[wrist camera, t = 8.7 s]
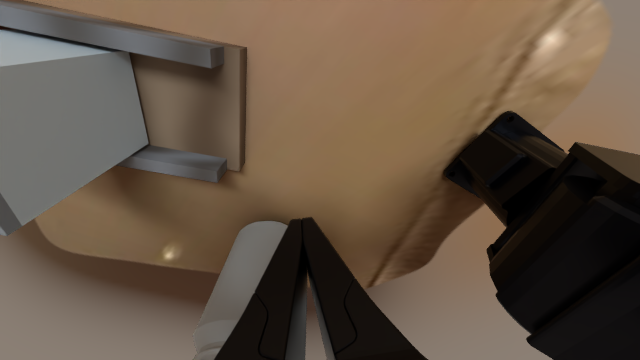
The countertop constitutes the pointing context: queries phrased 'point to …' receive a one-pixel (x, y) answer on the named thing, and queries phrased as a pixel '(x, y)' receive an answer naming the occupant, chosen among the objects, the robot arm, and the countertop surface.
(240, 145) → the grey rail holder
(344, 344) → the robot arm
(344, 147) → the countertop surface
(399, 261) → the countertop surface
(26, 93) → the grey rectangular box
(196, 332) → the can
